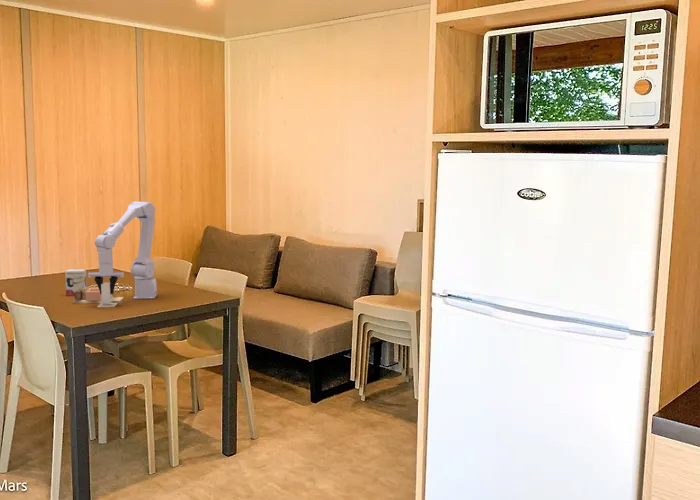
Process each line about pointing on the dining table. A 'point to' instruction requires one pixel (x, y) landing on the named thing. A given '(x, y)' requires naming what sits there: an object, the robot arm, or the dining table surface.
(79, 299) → the birch vise base
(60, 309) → the dining table surface
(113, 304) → the grey mat
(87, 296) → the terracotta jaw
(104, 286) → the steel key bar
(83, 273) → the ink box
